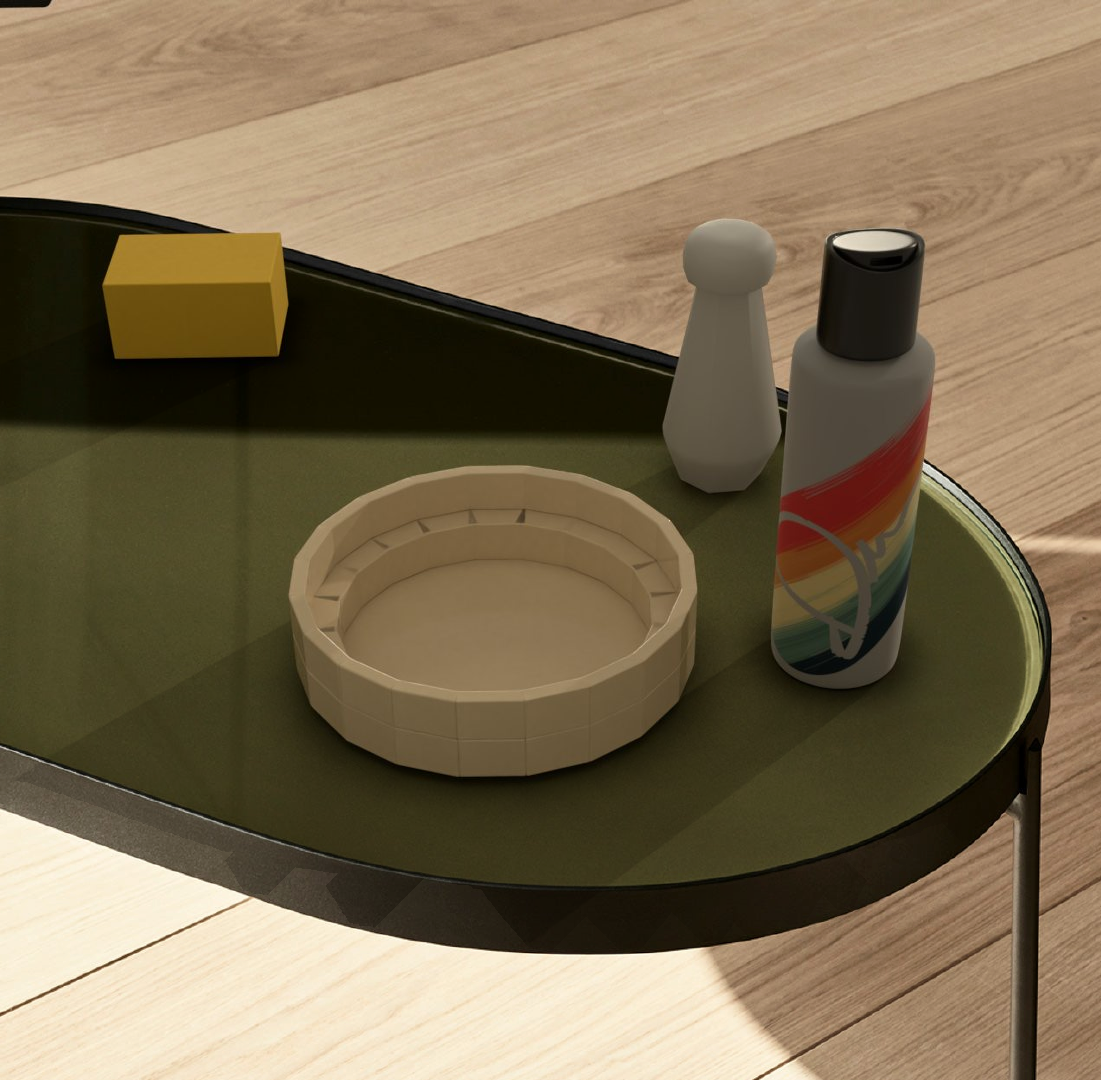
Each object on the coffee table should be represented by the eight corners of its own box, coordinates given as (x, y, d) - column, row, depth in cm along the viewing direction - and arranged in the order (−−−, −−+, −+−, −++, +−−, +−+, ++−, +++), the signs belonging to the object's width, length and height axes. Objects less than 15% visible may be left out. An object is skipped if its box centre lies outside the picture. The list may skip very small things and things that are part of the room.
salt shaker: (748, 431, 103) (762, 195, 95) (797, 488, 99) (816, 246, 90) (643, 454, 101) (648, 215, 93) (688, 512, 97) (698, 268, 89)
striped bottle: (787, 698, 86) (822, 274, 73) (756, 621, 90) (784, 208, 78) (914, 684, 87) (971, 262, 74) (877, 608, 91) (925, 196, 78)
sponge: (114, 359, 109) (101, 285, 107) (131, 307, 114) (119, 234, 111) (278, 357, 109) (270, 282, 107) (288, 305, 114) (280, 231, 111)
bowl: (281, 789, 82) (270, 704, 79) (316, 547, 95) (308, 467, 92) (705, 783, 82) (709, 698, 79) (680, 543, 95) (683, 462, 92)
